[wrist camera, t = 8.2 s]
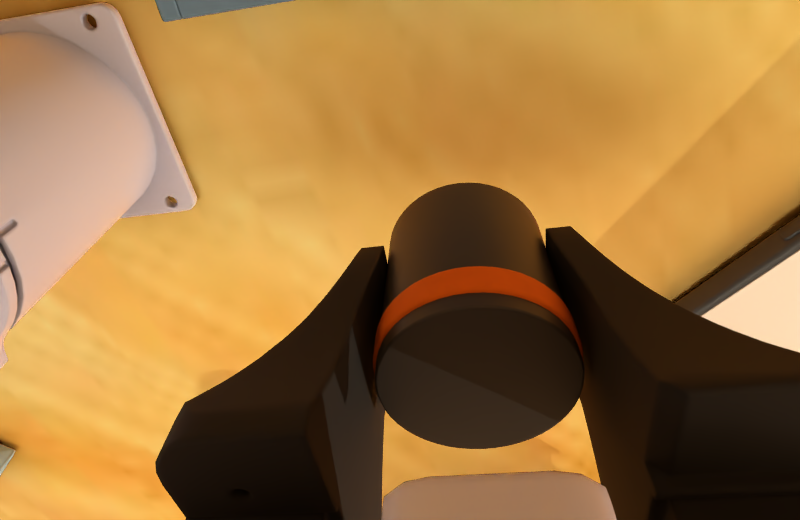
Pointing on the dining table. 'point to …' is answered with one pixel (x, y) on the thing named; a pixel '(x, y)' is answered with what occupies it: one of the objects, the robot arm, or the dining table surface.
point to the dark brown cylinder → (474, 323)
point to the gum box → (5, 456)
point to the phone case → (757, 291)
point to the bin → (205, 7)
